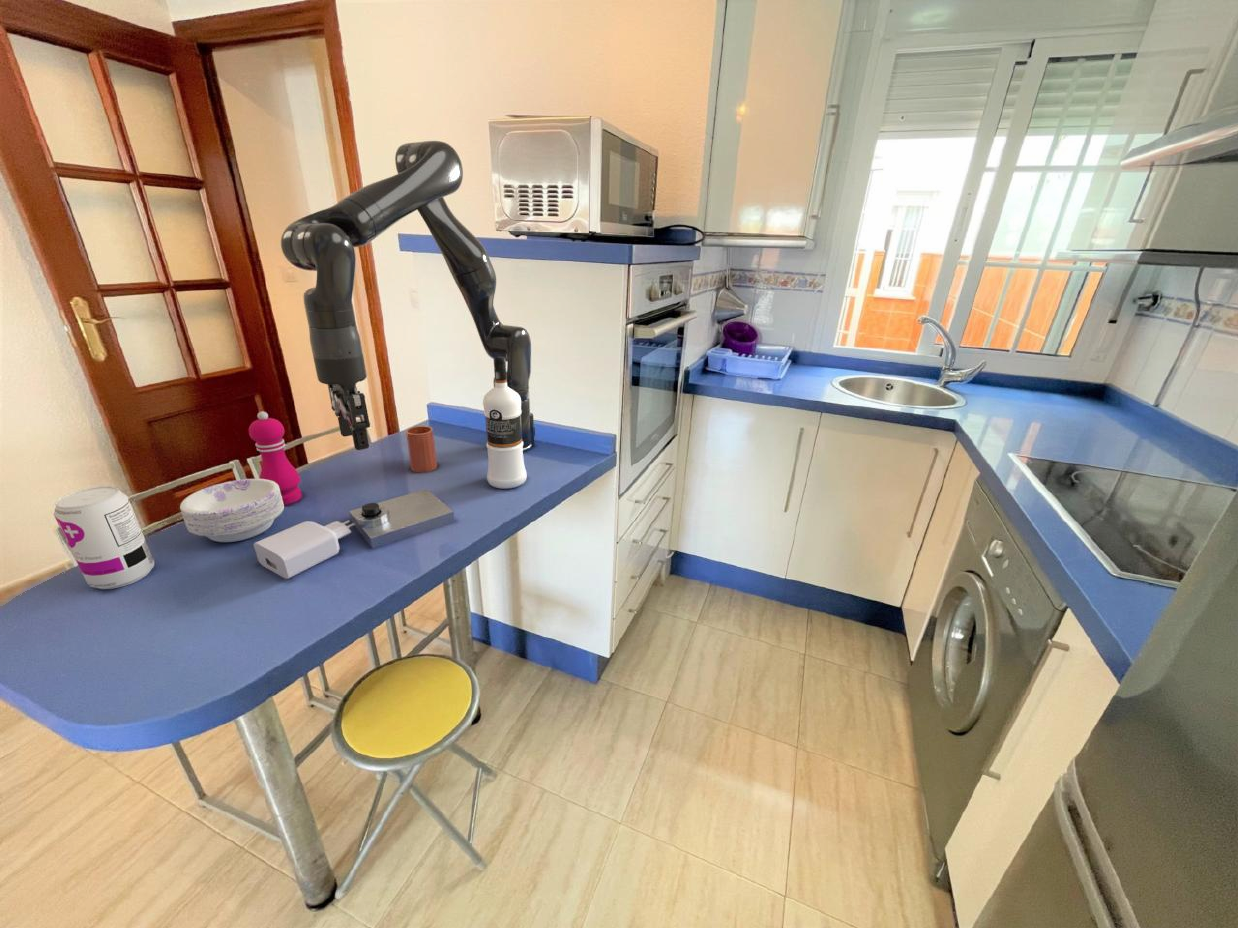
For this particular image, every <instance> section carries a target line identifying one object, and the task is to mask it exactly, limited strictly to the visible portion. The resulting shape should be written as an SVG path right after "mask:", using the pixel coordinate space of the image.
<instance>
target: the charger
mask: <svg viewBox="0 0 1238 928" xmlns="http://www.w3.org/2000/svg"><path fill="white" fill-rule="evenodd" d="M350 522H351V520H349V519H347V520H346V521H344V522H340V521H338V520H336V521H333V522H329V523H328V524H326V525H322V524H319V523H317V522H315V521H307V520H305V521H302V522H299V523H298V524H295V525H293V526H291V527H288V528H286V529H284V530H282V531H279V532H277V533H273V534H272V535H270V536H267V537H265V538H262V539H260V540H259V541H255V542H254V543H253V548H254V551H255V555H256V558H257V561H258V562H259V564H260V565H261V566H262V567H264V568H266V569H267V570H269V571H271V572H273V573H274V574H276V575H278V576H280V577H281V578H283V579H285V580H289V579H291V578H293V577H295V576H297V575H299V574H301V573H302V572H305V571H306V570H309V569H310V568H312V567H315V566H317V565H318V564H320V563H323V562H325V561H326V560H328V559H331V558H332V557H334V556H336V555H338V554H339V552H340V548H341V547H340V544H339V540H340V539H342V538H344V537H347V536H349V535H350V534H352V531H351V529H350V528H351V527H355V526H354V525H355V523H350ZM349 523H350V524H349ZM348 524H349V525H348Z"/></svg>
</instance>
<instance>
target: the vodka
mask: <svg viewBox="0 0 1238 928" xmlns="http://www.w3.org/2000/svg"><path fill="white" fill-rule="evenodd" d="M493 371H494V377H495V387H494V386H493V388H491V389H490V390H489V391H487V392H486V393H485V394H484V396H483V399H482V406H483V415H484V419H485V420H484V421H485V430H486V431H485V433H486V448H487V449H486V450H487V459H488V460H487V461H488V463H487V464H488V465H487V473H486V480H487V482H488V484H489V485H490V486H492V487H493V488H496V489H500V490H510V489H515V488H518V487H520V486H522V485H524V483H526V481H527V479H528V476H527V470H526V465H525V459H524V451H523V441H522V428H521V412H522V411H521V398H520V396H519V394H518V393H517V392H515V391H514V390H512V389H511V388H509V387H508V386H507V376H506V372H507V362H506V359H505V357H494V358H493Z"/></svg>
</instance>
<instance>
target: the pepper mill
mask: <svg viewBox="0 0 1238 928" xmlns="http://www.w3.org/2000/svg"><path fill="white" fill-rule="evenodd" d="M256 417H257V419H255V420H254V421H252V422H251V424H250V425H249V427H248V435H249V437H250V438H251V440H252V441H254V442H255V444H254V445H255V447H256V451H258V452H259V453H260V456H261V470H260V475H259V479H266V480H271V481H274V482H275V483H277V484H278V486H279V489H280V492H281V496H282V500H283V504H284V506H288V505H291V504H294V503H296V502H298V501H299V500H301V499H302V496H303V495H302V490H301V488H300V487H299V485H300V483H301V477H300V474H299V472H298V471H297V469H296V468H295V467H294V465H293V464H292V463H291V462H290V461H289V459H288V457H287V455H286V453H285V447H286V443H285V439H284V438H283V437H284V435H285V428H284V425H283V424H282V422H281V421H280V420H278V419H276V418H273V417H269V414H268V413H267V412H266V411H259V412H258V413H257V416H256Z"/></svg>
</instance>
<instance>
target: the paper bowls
mask: <svg viewBox="0 0 1238 928" xmlns="http://www.w3.org/2000/svg"><path fill="white" fill-rule="evenodd" d="M284 509H285V505H284V504H283V500H282V496H281V492H280V489H279V486H278V484H277V483H275V482H274V481H271V480H266V479H260V478H244V479H243V478H242V479H236V480H229V481H225V482H221V483H217V484H213V485H209V486H207V487H205V488H202V489H199V490H197V491H195V492H193V493H191V494H190V495H188V496H187V497H185V498H184V499H183V500H182V501H181V502H180V505H179V510H180V513H181V515H182V519H183V522H184V524H185V527H186V529H187V531H188V532H189V533H191V534H192V535H196V536H199V537H206V538H207V539H210V540H211V541H213V542H218V543H233V542H240V541H245V540H248V539H251V538H253V537H256V536H258V535H259V536H260V534H263V533H264V532H266V531H268V530H269V528H271V527H272V525H273V523H274V520H275V519H276V518H278V517H279V516H280V515H282V514H283V512H284Z"/></svg>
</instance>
